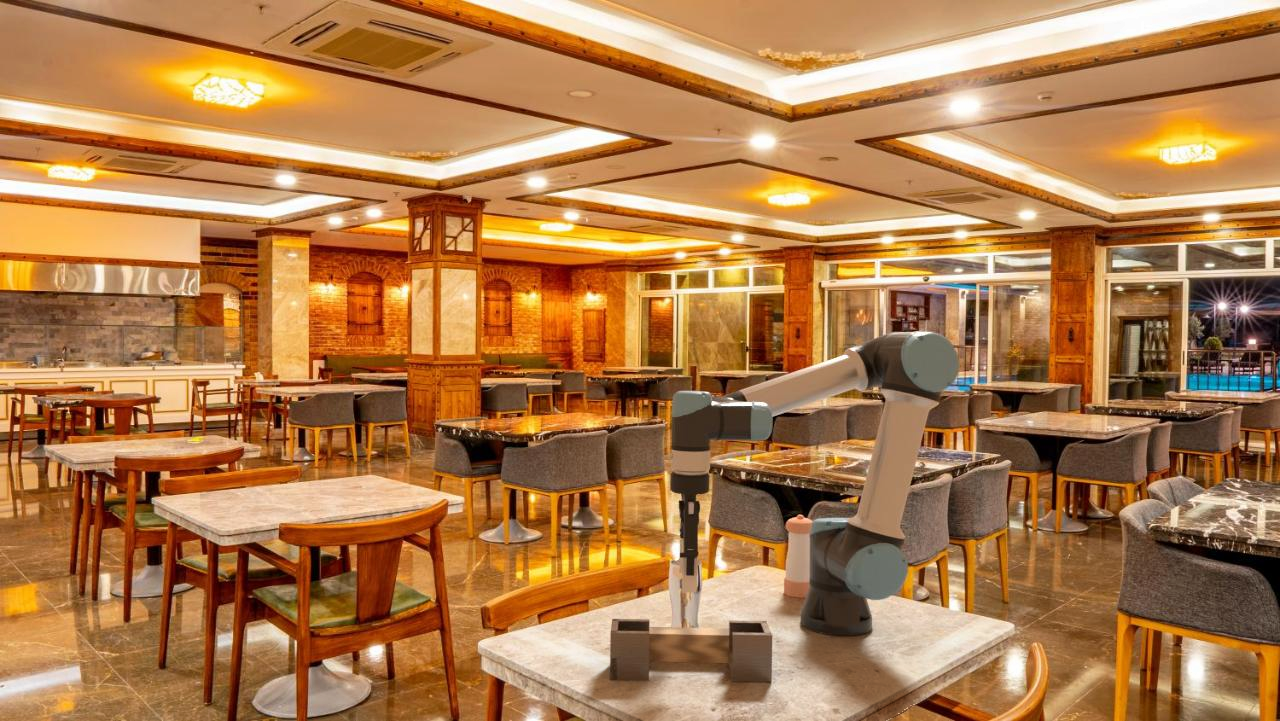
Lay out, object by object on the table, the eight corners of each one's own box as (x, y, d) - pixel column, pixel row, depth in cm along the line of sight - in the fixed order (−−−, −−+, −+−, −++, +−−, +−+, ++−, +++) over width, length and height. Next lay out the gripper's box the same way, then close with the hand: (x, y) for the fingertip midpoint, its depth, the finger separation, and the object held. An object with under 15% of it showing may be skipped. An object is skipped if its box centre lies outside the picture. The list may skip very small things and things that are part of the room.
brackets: (765, 665, 165) (766, 620, 165) (771, 682, 157) (772, 635, 157) (611, 663, 165) (612, 618, 165) (610, 679, 157) (610, 633, 157)
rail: (744, 656, 170) (744, 628, 170) (746, 664, 166) (746, 635, 166) (631, 654, 171) (631, 626, 171) (630, 662, 167) (630, 633, 167)
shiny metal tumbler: (699, 640, 178) (700, 567, 178) (665, 637, 180) (666, 565, 179) (703, 629, 185) (704, 558, 185) (671, 626, 187) (671, 556, 186)
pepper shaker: (783, 597, 209) (785, 517, 209) (783, 588, 216) (785, 511, 216) (814, 598, 208) (816, 518, 208) (813, 590, 215) (815, 512, 215)
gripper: (668, 462, 180) (666, 564, 181) (672, 481, 155) (669, 600, 156) (705, 463, 180) (703, 565, 181) (714, 482, 155) (711, 601, 156)
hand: (687, 581), depth 168 cm, fingers open, 13 cm apart
